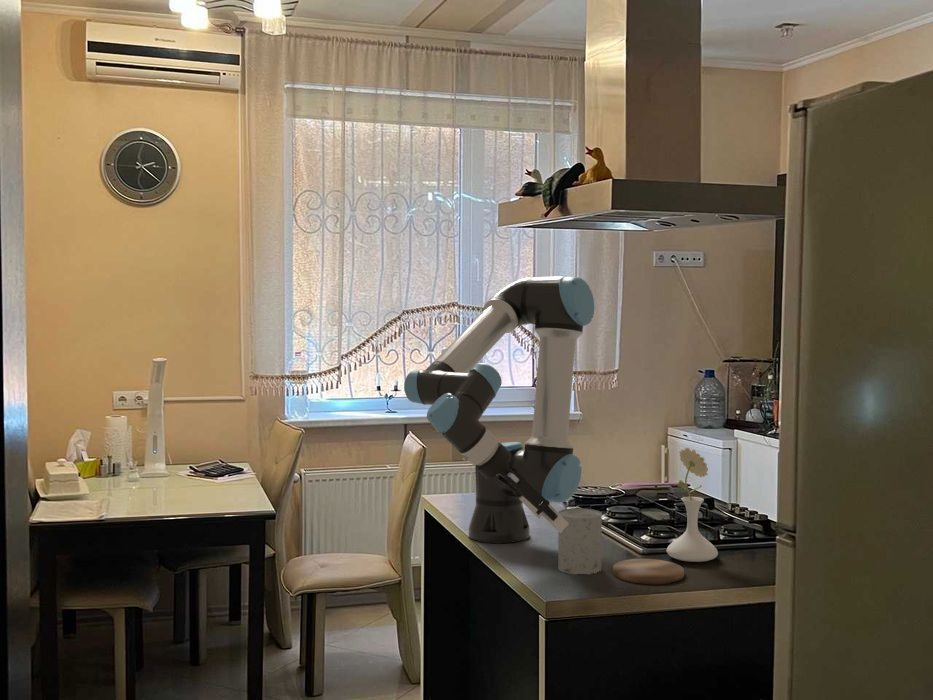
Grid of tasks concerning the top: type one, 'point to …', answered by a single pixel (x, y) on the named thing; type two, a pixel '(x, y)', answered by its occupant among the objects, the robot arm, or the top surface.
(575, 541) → the white speckled cylinder
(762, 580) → the top surface
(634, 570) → the walnut board
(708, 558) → the flower in vase
